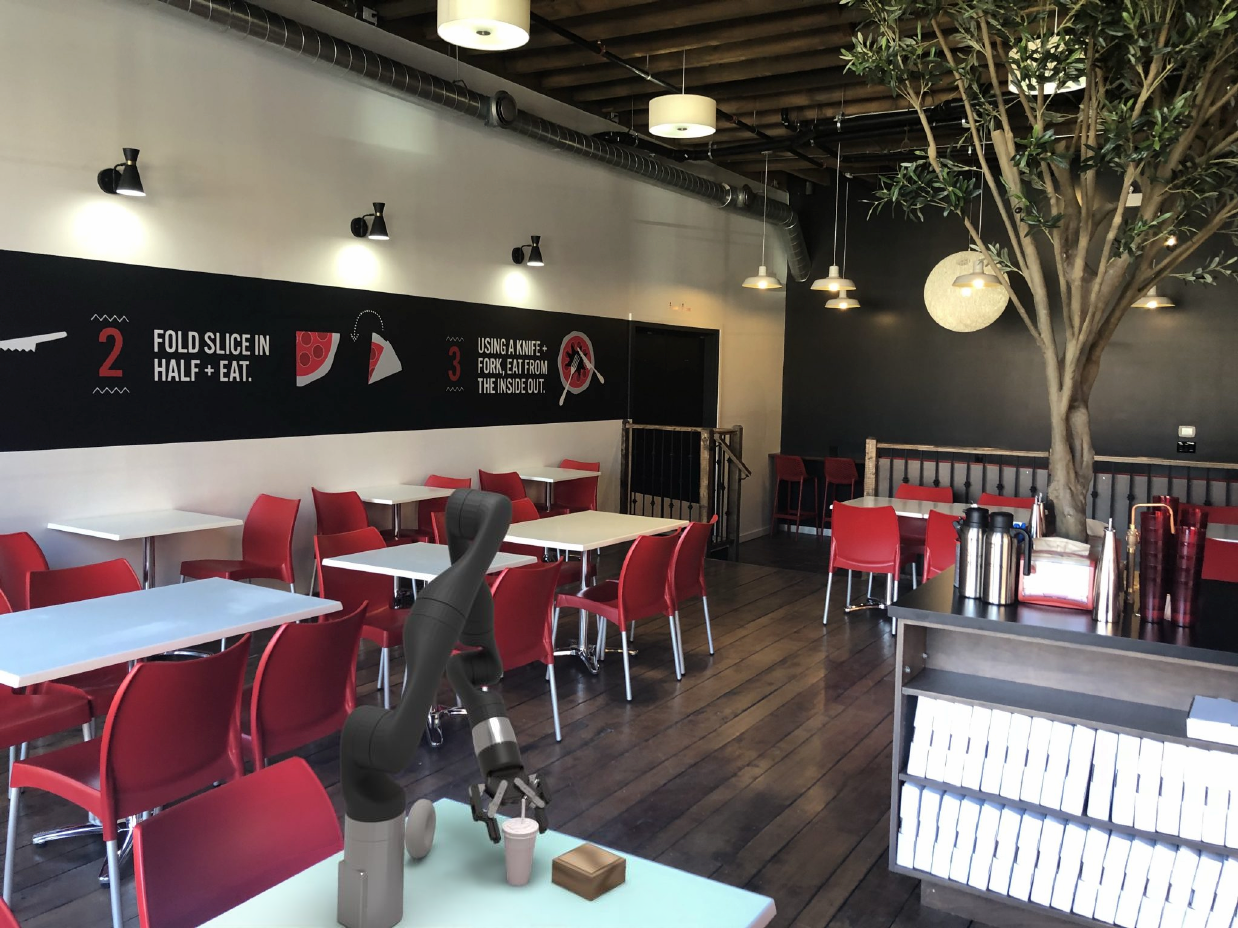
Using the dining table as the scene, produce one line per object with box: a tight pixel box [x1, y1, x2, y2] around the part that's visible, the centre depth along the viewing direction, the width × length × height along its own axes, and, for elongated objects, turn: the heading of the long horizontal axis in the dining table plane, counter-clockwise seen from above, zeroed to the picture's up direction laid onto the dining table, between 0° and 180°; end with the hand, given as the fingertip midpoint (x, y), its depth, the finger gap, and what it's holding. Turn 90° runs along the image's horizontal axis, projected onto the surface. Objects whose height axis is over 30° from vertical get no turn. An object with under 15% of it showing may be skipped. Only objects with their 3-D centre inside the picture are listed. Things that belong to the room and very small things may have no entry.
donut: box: [405, 798, 437, 859], centre depth 169 cm, size 10×4×10 cm, turn 174°
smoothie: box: [500, 799, 539, 887], centre depth 162 cm, size 6×6×14 cm
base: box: [550, 841, 627, 902], centre depth 162 cm, size 9×9×4 cm
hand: (521, 836), depth 161 cm, fingers open, 8 cm apart
